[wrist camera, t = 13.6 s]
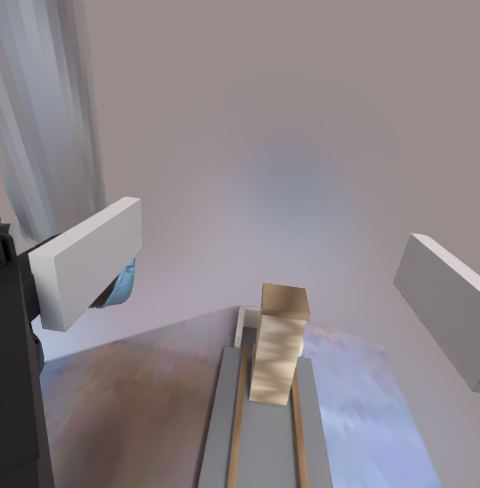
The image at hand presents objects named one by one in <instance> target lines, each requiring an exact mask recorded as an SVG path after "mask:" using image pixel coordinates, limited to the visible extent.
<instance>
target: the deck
mask: <svg viewBox="0 0 480 488" xmlns="http://www.w3.org/2000/svg"><path fill="white" fill-rule="evenodd" d="M252 353H253V350H248V352H247V363H246V374H245V385H244V396H243V407H242V418H241V429H240V440H239V450H238V461H237V472H236V483H235V488H298V477H297V464H296V451H295V438H294V426H293V413H292V400H291V388H290V392H289V397H288V401H287V405H286V406H284V405H277V404H271V403H264V402H257V401H251V400H249V391H250V377H251V362H252ZM241 358H242V349H240V348H233V347H226V346H225V348H224V353H223V358H222V364H221V369H220V374H219V379H218V384H217V390H216V395H215V400H214V405H213V411H212V416H211V421H210V426H209V431H208V437H207V442H206V447H205V452H204V458H203V463H202V468H201V473H200V478H199V484H198V488H227V481H228V472H229V463H230V454H231V445H232V437H233V428H234V419H235V410H236V402H237V393H238V384H239V375H240V366H241ZM296 371H297V381H298V390H299V400H300V409H301V418H302V428H303V437H304V446H305V456H306V465H307V475H308V484H309V488H333V484H332V479H331V473H330V467H329V461H328V455H327V449H326V444H325V438H324V432H323V426H322V420H321V414H320V409H319V403H318V397H317V391H316V385H315V379H314V374H313V368H312V362H311V359H309V358H302V357H298V358H297V363H296Z"/></svg>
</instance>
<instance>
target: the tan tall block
mask: <svg viewBox="0 0 480 488" xmlns="http://www.w3.org/2000/svg"><path fill="white" fill-rule="evenodd" d="M309 317H310V310H309V306H308V301H307V296H306V291H305V289H304V288H297V287H289V286H281V285H275V284H267V283H263V287H262V304H261V311H260V317H259V323H258V329H257V336H256V342H255V344H254V346H253V353H252V362H251V377H250V391H249V400H251V401H257V402H264V403H271V404H277V405H284V406H286V405H287V401H288V397H289V392H290V388H291V384H292V380H293V375H294V371H295V367H296V363H297V358H298V354H299V350H300V346H301V341H302V337H303V333H304V329H305V324H306V321H309Z"/></svg>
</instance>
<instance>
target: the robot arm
mask: <svg viewBox="0 0 480 488" xmlns="http://www.w3.org/2000/svg"><path fill="white" fill-rule="evenodd" d="M0 179H1V182H2V184H3V186H4V189H5V191H6V193H7V196H8V197H9V200H10V202H11V205H12V207H13V210H14V212H15V214H16V216H15V218H14V219H13V221H12V223H11V224H2V223H0V488H54V480H53V473H52V466H51V459H50V452H49V444H48V437H47V430H46V423H45V416H44V408H43V401H42V394H41V387H40V380H39V373H40V371H41V369H42V367H43V363H44V354H43V350H42V345H41V342H40V340H39V339H38V337H37V336H36V335H35V334H34V333H33V330H32V325H31V321H32V320H33V319H35V318H36V317H37V316H38V315H39V314H40V317H41V322H42V328H43V329H48V330H55V331H61V332H66V331H67V330H68V329H69V328H70V326H71V325H72V324H73V323H74V322H75V321H76V320H77V319H78V318H79V317H80V316H81V315H82V313H83V312H84V311H85V310H86V309H87V308H94V307H96V308H104V307H105V306H109V305H115V304H121V303H123V302H125V301H126V300H127V299H128V297H129V296H130V294H131V291H132V286H133V280H134V264H135V256H136V255H137V254H138V253H139V252H140V251H141V250H142V222H141V199H140V198H132V197H124V198H123V199H121V200H119V201H117V202H116V203H114V204H112V205H109V204H108V203H107V201H106V192H105V183H104V173H103V164H102V155H101V145H100V137H99V127H98V118H97V108H96V99H95V89H94V80H93V71H92V61H91V52H90V43H89V34H88V25H87V15H86V5H85V0H0ZM0 222H1V219H0ZM393 284H394V285H395V287H396V288H397V289H398V290H399V292H400V293H401V295H402V296H403V297H404V299H405V300H406V301H407V303H408V304H409V306H410V307H411V308H412V310H413V311H414V312H415V314H416V315H417V316H418V318H419V319H420V321H421V322H422V323H423V325H424V326H425V327H426V329H427V330H428V332H429V333H430V334H431V335H432V337H433V338H434V340H435V341H436V342H437V344H438V345H439V346H440V348H441V349H442V350H443V352H444V353H445V355H446V356H447V357H448V359H449V360H450V362H451V363H452V364H453V366H454V367H455V368H456V370H457V371H458V372H459V374H460V375H461V377H462V378H463V379H464V381H465V382H466V383H467V385H468V386H469V387H470V389H471V390H472V391H473V392H478V393H480V276H479V275H478V274H477V273H475V272H474V271H473V270H471V269H470V268H469V267H467V266H466V265H465V264H464V263H462V262H461V261H460V260H458V259H457V258H456V257H454V256H453V255H452V254H450V253H449V252H448V251H447V250H445V249H444V248H443V247H441V246H440V245H439V244H438V243H436V242H435V241H434V240H432V239H431V238H430V237H428V236H427V235H420V234H412V233H411V234H410V237H409V240H408V242H407V246H406V248H405V251H404V254H403V256H402V259H401V262H400V265H399V268H398V270H397V273H396V276H395V279H394V282H393Z"/></svg>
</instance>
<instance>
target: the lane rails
mask: <svg viewBox="0 0 480 488" xmlns="http://www.w3.org/2000/svg"><path fill="white" fill-rule="evenodd" d="M247 352H248V344H246V343H243V349H242V358H241V366H240V375H239V384H238V393H237V402H236V410H235V419H234V428H233V437H232V445H231V454H230V463H229V472H228V481H227V488H235V483H236V472H237V461H238V450H239V440H240V429H241V418H242V407H243V396H244V385H245V374H246V363H247ZM291 400H292V413H293V426H294V438H295V451H296V464H297V477H298V488H309V484H308V475H307V465H306V456H305V446H304V437H303V428H302V418H301V409H300V400H299V390H298V381H297V371H296V367H295V371H294V375H293V380H292V384H291Z"/></svg>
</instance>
